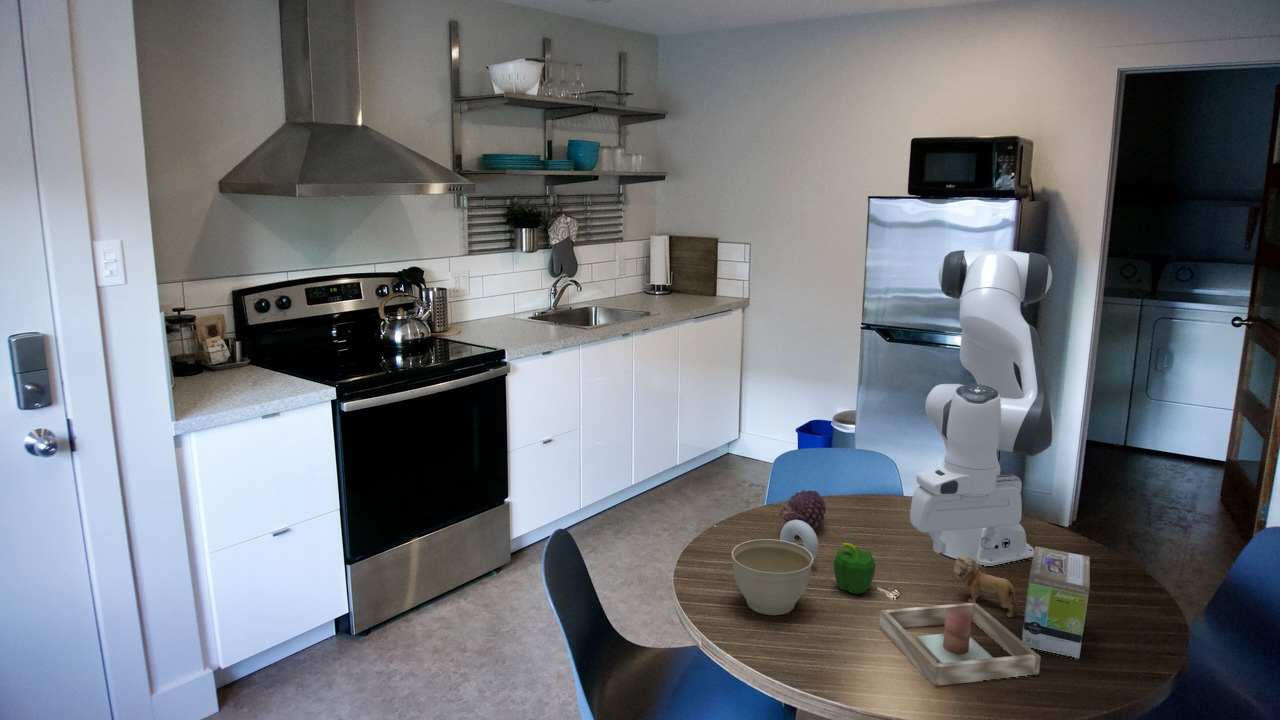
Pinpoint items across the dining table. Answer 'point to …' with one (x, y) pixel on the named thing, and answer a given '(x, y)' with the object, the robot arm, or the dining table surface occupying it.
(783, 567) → the planter bowl
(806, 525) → the donut
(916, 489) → the robot arm
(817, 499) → the pine cone
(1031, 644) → the tea box
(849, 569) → the bell pepper
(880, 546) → the dining table surface
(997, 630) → the corral
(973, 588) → the lion figurine
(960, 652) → the reddish pink cylinder
